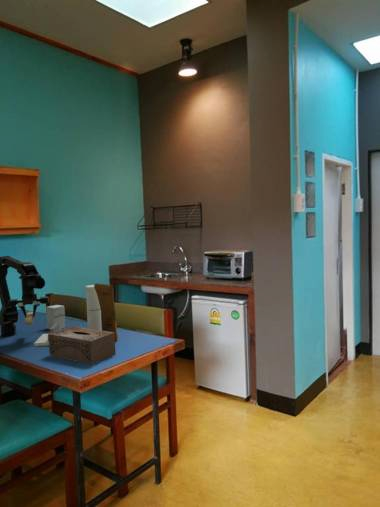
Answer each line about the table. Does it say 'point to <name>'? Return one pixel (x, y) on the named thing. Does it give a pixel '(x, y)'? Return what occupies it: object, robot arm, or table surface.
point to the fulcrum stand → (45, 338)
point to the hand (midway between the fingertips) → (30, 318)
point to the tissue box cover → (82, 344)
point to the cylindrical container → (93, 309)
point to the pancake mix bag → (107, 308)
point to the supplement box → (55, 316)
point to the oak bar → (29, 318)
